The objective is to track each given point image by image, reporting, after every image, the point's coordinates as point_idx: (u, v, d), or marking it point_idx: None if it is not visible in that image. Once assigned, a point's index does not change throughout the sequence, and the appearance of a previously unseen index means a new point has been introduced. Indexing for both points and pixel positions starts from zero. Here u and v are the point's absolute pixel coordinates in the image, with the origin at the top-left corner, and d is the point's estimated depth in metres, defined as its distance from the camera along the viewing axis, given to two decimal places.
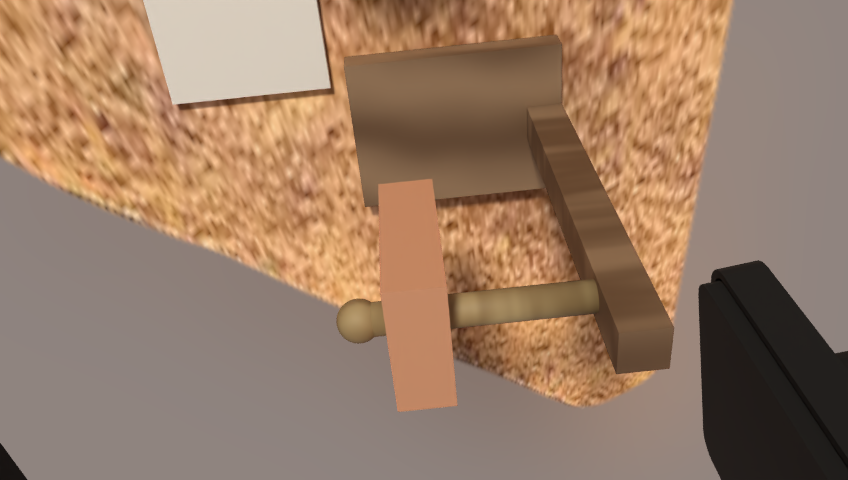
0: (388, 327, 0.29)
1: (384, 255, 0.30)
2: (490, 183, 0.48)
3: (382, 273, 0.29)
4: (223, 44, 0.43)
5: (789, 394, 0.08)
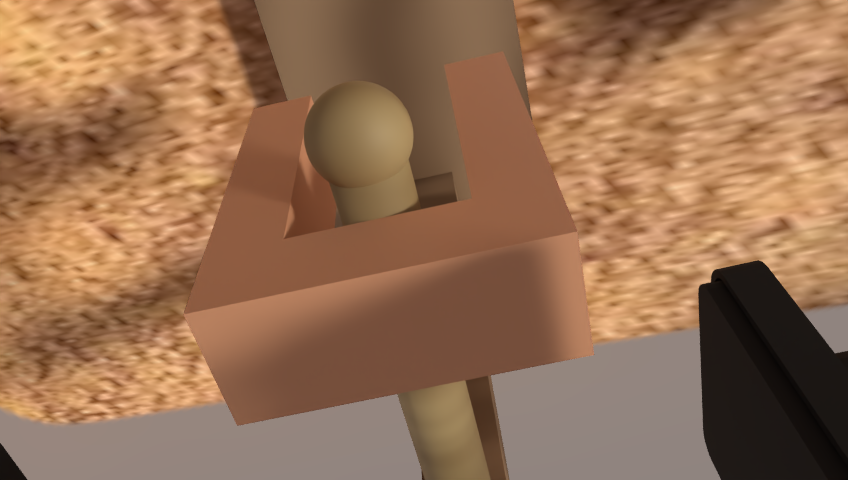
0: (470, 260, 0.12)
1: (548, 168, 0.14)
2: None
3: None
4: None
5: (789, 394, 0.08)
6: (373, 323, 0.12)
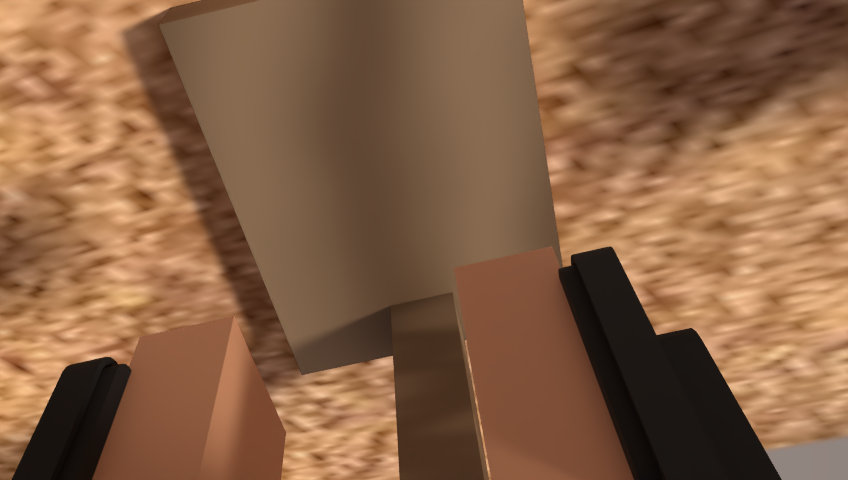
0: None
1: None
2: (282, 266, 0.24)
3: None
4: None
5: (608, 364, 0.08)
6: None
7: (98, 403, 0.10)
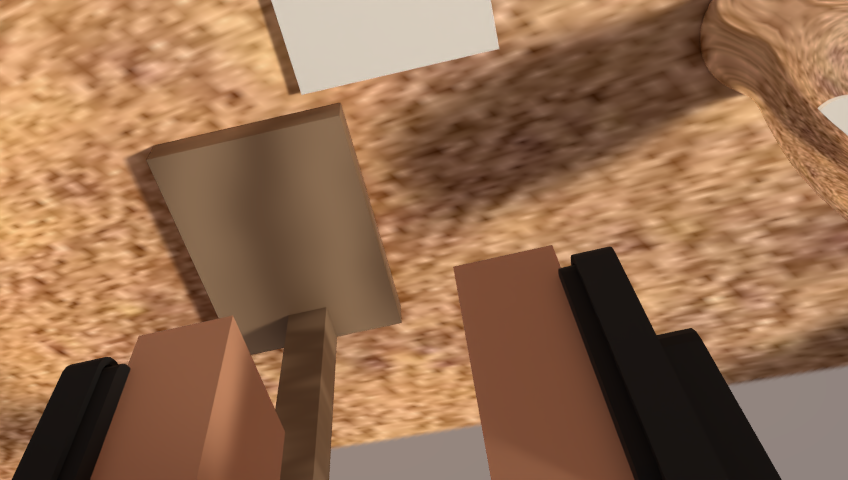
0: None
1: None
2: (221, 291, 0.40)
3: None
4: None
5: (608, 364, 0.08)
6: None
7: (98, 403, 0.10)
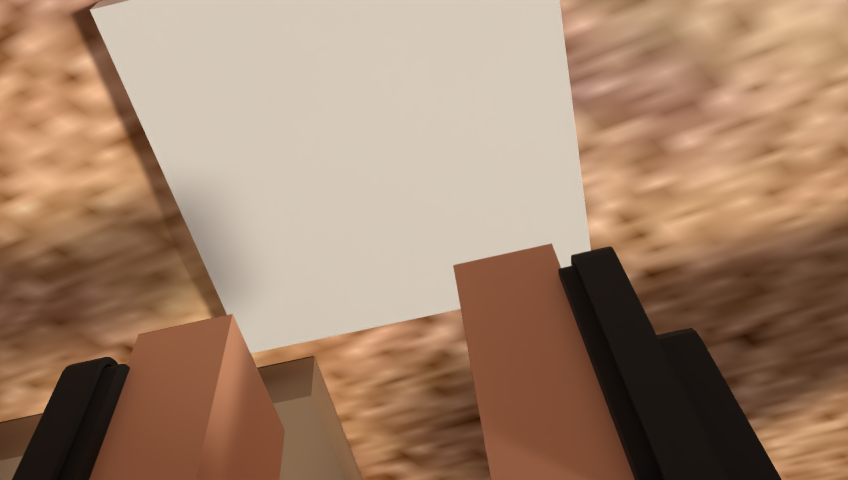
0: None
1: None
2: None
3: None
4: (300, 138, 0.17)
5: (608, 364, 0.08)
6: None
7: (98, 403, 0.10)
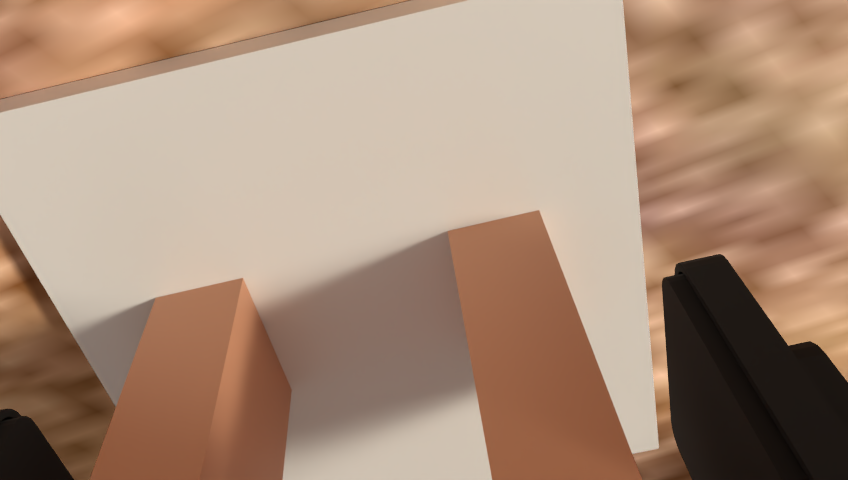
0: None
1: None
2: None
3: None
4: (263, 288, 0.12)
5: (741, 382, 0.08)
6: None
7: None
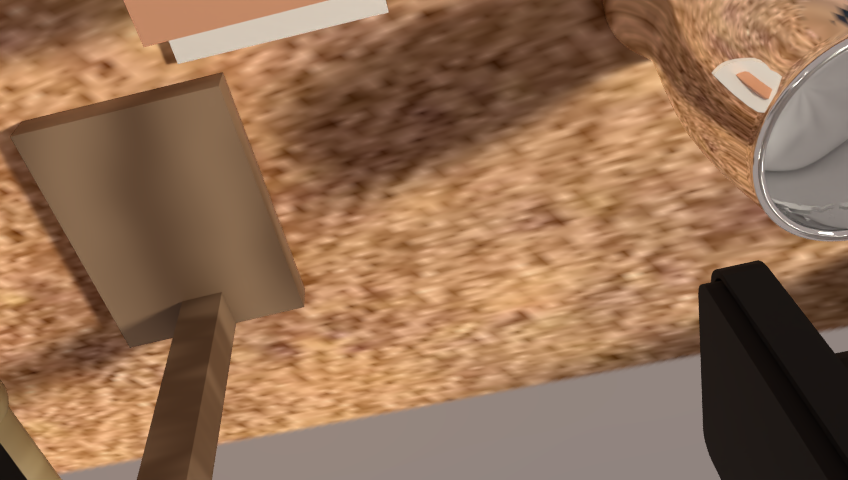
0: None
1: None
2: (106, 277, 0.37)
3: None
4: None
5: (789, 394, 0.08)
6: None
7: None
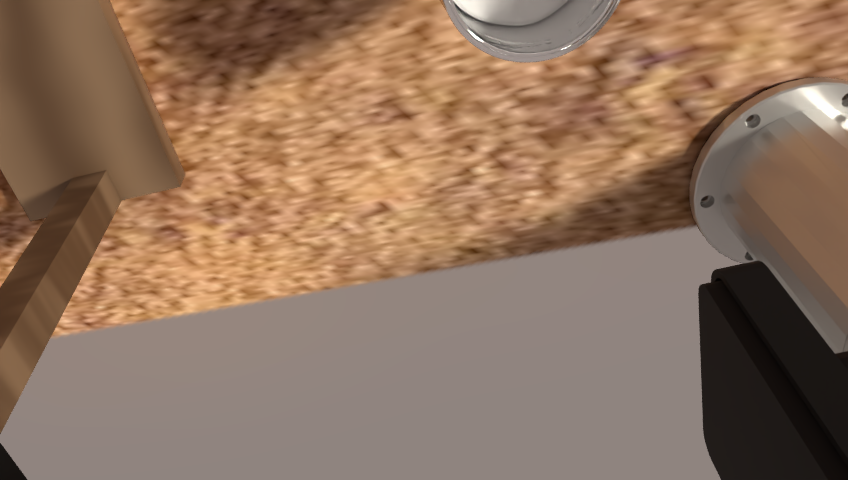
0: None
1: None
2: (5, 153, 0.43)
3: None
4: None
5: (789, 394, 0.08)
6: None
7: None
